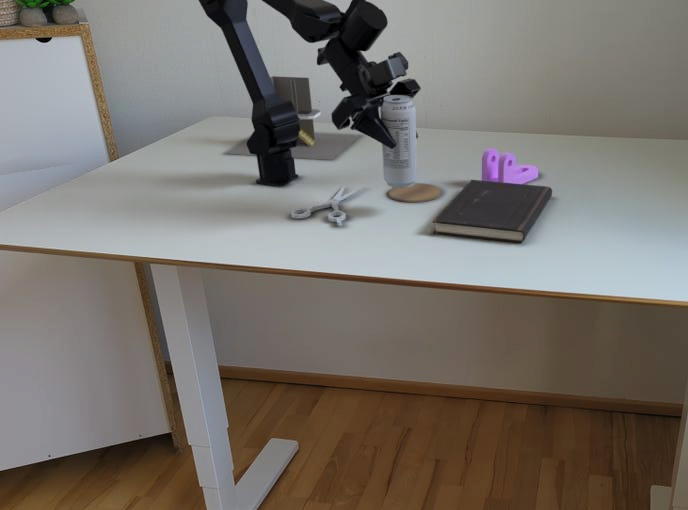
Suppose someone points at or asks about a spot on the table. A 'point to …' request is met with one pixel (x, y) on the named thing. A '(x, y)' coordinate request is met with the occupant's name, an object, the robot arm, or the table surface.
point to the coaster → (415, 193)
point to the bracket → (505, 168)
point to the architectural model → (304, 123)
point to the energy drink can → (400, 141)
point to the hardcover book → (493, 211)
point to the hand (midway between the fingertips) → (405, 143)
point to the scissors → (329, 203)
